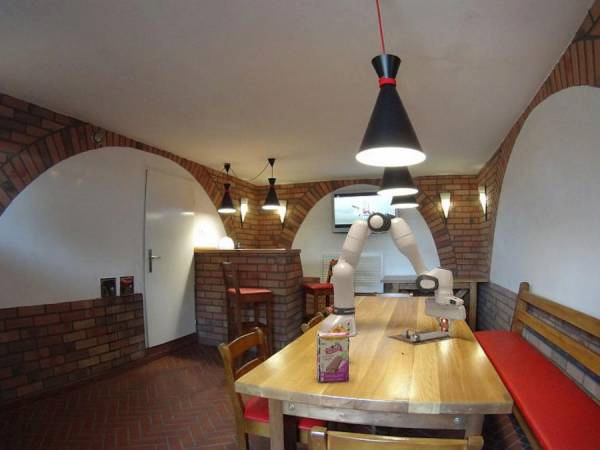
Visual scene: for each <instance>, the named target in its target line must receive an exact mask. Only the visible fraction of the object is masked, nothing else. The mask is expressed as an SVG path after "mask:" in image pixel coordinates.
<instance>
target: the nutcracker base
mask: <svg viewBox="0 0 600 450" xmlns="http://www.w3.org/2000/svg"><path fill="white" fill-rule="evenodd" d="M408 330H410V329H408V328H404V329H402V330H401V334H395V335H388V336H387V338H390V339H393V340H395V341H399V342H402V343H405V344H408V345H411V346H414V347H415V346H421V345H426V344H431V343H437V342H443V341H447V340H453V339H457V337H454V336H452V335H447V336H442V337H436V338H430V339H425V340H420V342H414V341H411V340H410V339H408ZM431 332H434V331H432V330H429V329H426V330H420V331H417V335H420V334H425V333H431Z"/></svg>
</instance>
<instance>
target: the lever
mask: <svg viewBox="0 0 600 450" xmlns="http://www.w3.org/2000/svg"><path fill="white" fill-rule="evenodd" d="M440 322H441V326H440V331H439V330H438V331H433V332H431V333H425V334H420V335H417V334H413V335H412V336H410V337H411V341H414V342H420V340H425V339H430V338H436V337H442V336H447V335H448V336H451V335H450V332H451V331H450V328H448V327H447V324H449V319H447V318H440Z"/></svg>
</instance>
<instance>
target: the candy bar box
mask: <svg viewBox="0 0 600 450" xmlns="http://www.w3.org/2000/svg"><path fill="white" fill-rule="evenodd" d="M349 340H350V336H349V335H348V334H347V333H317V332H316V380H317V381H318V383H319V384H321V383H339V382H349V381H350V342H349Z"/></svg>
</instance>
